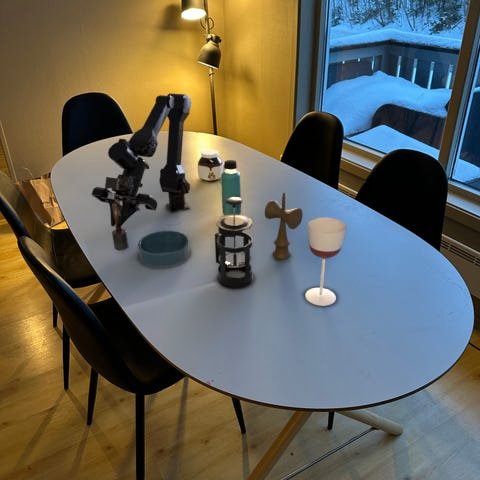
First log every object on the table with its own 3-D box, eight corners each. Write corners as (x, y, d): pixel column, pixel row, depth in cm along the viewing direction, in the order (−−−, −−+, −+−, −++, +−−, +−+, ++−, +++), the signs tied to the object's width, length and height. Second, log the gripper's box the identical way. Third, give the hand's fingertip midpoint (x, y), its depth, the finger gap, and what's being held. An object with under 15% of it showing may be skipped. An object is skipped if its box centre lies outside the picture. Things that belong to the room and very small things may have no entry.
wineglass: (300, 288, 115) (304, 218, 105) (333, 286, 115) (340, 216, 106) (306, 307, 107) (312, 234, 98) (342, 305, 108) (350, 232, 99)
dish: (131, 252, 131) (129, 239, 130) (174, 238, 139) (173, 226, 137) (152, 273, 121) (151, 260, 119) (198, 257, 128) (197, 244, 127)
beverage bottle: (239, 222, 149) (238, 165, 139) (219, 220, 150) (218, 163, 141) (243, 213, 154) (242, 158, 145) (224, 212, 155) (222, 157, 146)
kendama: (288, 266, 124) (291, 200, 115) (262, 254, 130) (263, 191, 121) (301, 258, 128) (305, 194, 118) (275, 247, 133) (277, 184, 124)
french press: (262, 279, 118) (263, 199, 108) (238, 294, 112) (237, 212, 102) (230, 263, 125) (228, 187, 115) (205, 277, 119) (201, 198, 109)
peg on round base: (115, 243, 131) (108, 200, 125) (129, 243, 132) (123, 199, 125) (113, 250, 128) (106, 206, 121) (127, 250, 128) (120, 205, 122)
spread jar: (196, 182, 181) (195, 154, 176) (203, 172, 191) (202, 146, 186) (225, 183, 179) (224, 156, 174) (230, 174, 189) (230, 147, 184)
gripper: (89, 160, 125) (70, 211, 121) (147, 167, 119) (130, 222, 115) (110, 176, 135) (93, 225, 131) (164, 184, 129) (148, 235, 125)
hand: (115, 226), depth 125 cm, fingers closed on peg on round base, 2 cm apart
